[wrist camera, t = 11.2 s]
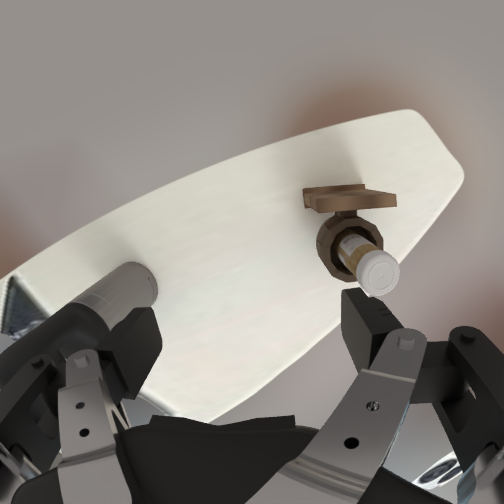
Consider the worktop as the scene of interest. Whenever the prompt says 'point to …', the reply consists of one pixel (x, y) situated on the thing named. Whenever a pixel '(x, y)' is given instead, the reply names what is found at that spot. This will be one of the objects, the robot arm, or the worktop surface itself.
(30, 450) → the robot arm
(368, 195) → the bracket
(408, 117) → the worktop surface
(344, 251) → the sprinkles bottle
